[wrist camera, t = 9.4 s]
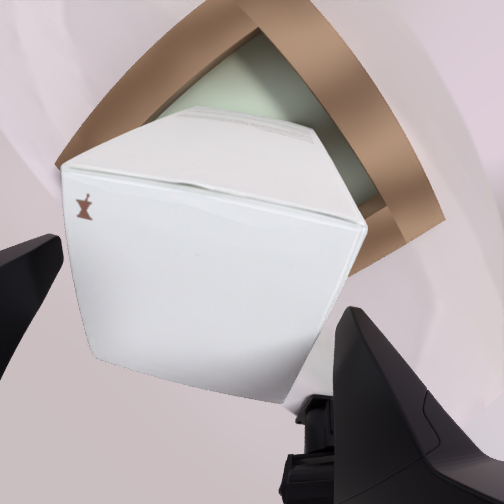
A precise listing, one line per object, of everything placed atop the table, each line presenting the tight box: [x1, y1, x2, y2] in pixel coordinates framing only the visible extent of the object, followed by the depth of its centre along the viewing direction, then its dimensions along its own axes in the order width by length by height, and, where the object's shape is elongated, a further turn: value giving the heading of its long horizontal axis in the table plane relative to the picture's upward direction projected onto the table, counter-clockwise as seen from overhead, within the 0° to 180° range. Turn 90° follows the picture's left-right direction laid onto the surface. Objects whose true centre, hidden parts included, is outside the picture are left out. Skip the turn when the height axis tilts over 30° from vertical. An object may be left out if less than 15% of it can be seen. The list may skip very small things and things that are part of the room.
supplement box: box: [60, 106, 368, 404], centre depth 13 cm, size 7×7×13 cm
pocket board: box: [55, 0, 445, 278], centre depth 18 cm, size 18×18×2 cm
